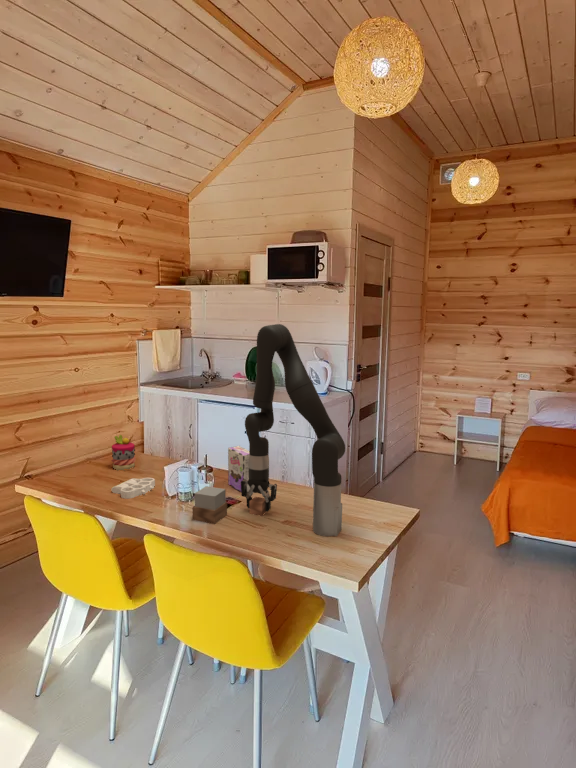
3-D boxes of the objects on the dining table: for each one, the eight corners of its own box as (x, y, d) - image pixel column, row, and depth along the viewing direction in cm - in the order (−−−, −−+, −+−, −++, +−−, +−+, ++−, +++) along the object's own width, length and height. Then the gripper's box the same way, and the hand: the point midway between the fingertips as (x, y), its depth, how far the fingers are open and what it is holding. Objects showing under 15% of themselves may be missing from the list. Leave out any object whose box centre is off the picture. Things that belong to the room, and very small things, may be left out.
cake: (139, 464, 245) (138, 434, 243) (129, 471, 235) (128, 439, 233) (118, 463, 247) (117, 433, 245) (108, 470, 236) (106, 438, 234)
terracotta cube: (267, 511, 191) (267, 498, 190) (261, 516, 187) (261, 503, 186) (255, 509, 193) (255, 496, 192) (249, 514, 188) (249, 501, 188)
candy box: (227, 484, 220) (227, 447, 218) (239, 482, 223) (239, 445, 221) (242, 494, 208) (243, 455, 206) (255, 491, 212) (255, 453, 209)
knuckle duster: (134, 482, 222) (163, 487, 216) (105, 496, 205) (136, 501, 200) (134, 474, 221) (163, 479, 216) (105, 488, 204) (135, 493, 199)
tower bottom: (227, 515, 187) (227, 502, 187) (214, 524, 179) (214, 511, 178) (205, 511, 191) (205, 498, 190) (192, 520, 182) (192, 506, 182)
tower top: (225, 502, 187) (225, 489, 186) (214, 510, 179) (214, 496, 178) (206, 499, 189) (206, 486, 189) (194, 506, 182) (194, 493, 181)
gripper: (280, 465, 188) (280, 508, 190) (245, 460, 193) (245, 503, 196) (272, 471, 181) (272, 516, 184) (236, 466, 187) (236, 509, 189)
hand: (258, 509), depth 190 cm, fingers open, 6 cm apart
